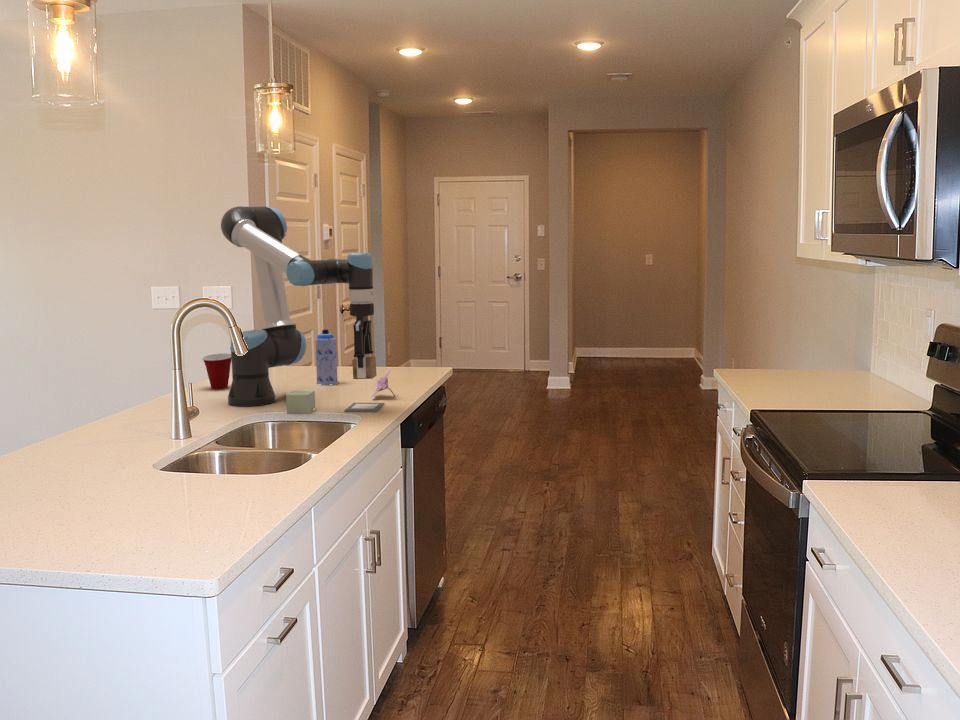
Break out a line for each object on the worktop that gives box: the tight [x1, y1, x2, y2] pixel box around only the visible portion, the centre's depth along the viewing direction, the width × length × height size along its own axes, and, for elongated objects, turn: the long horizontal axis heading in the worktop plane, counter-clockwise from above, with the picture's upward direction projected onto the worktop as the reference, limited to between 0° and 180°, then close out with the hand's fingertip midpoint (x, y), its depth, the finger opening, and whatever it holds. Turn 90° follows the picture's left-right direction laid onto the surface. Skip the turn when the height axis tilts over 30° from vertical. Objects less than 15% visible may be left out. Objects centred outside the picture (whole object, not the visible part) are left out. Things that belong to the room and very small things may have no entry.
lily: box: [372, 369, 396, 400], centre depth 299 cm, size 12×12×10 cm
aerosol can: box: [314, 328, 339, 386], centre depth 327 cm, size 8×8×20 cm
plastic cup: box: [201, 352, 232, 390], centre depth 320 cm, size 11×11×12 cm
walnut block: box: [351, 356, 377, 380], centre depth 279 cm, size 6×6×6 cm
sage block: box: [285, 390, 316, 415], centre depth 277 cm, size 7×7×6 cm
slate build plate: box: [344, 402, 385, 413], centre depth 281 cm, size 10×12×1 cm
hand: (364, 376), depth 279 cm, fingers closed on walnut block, 6 cm apart
